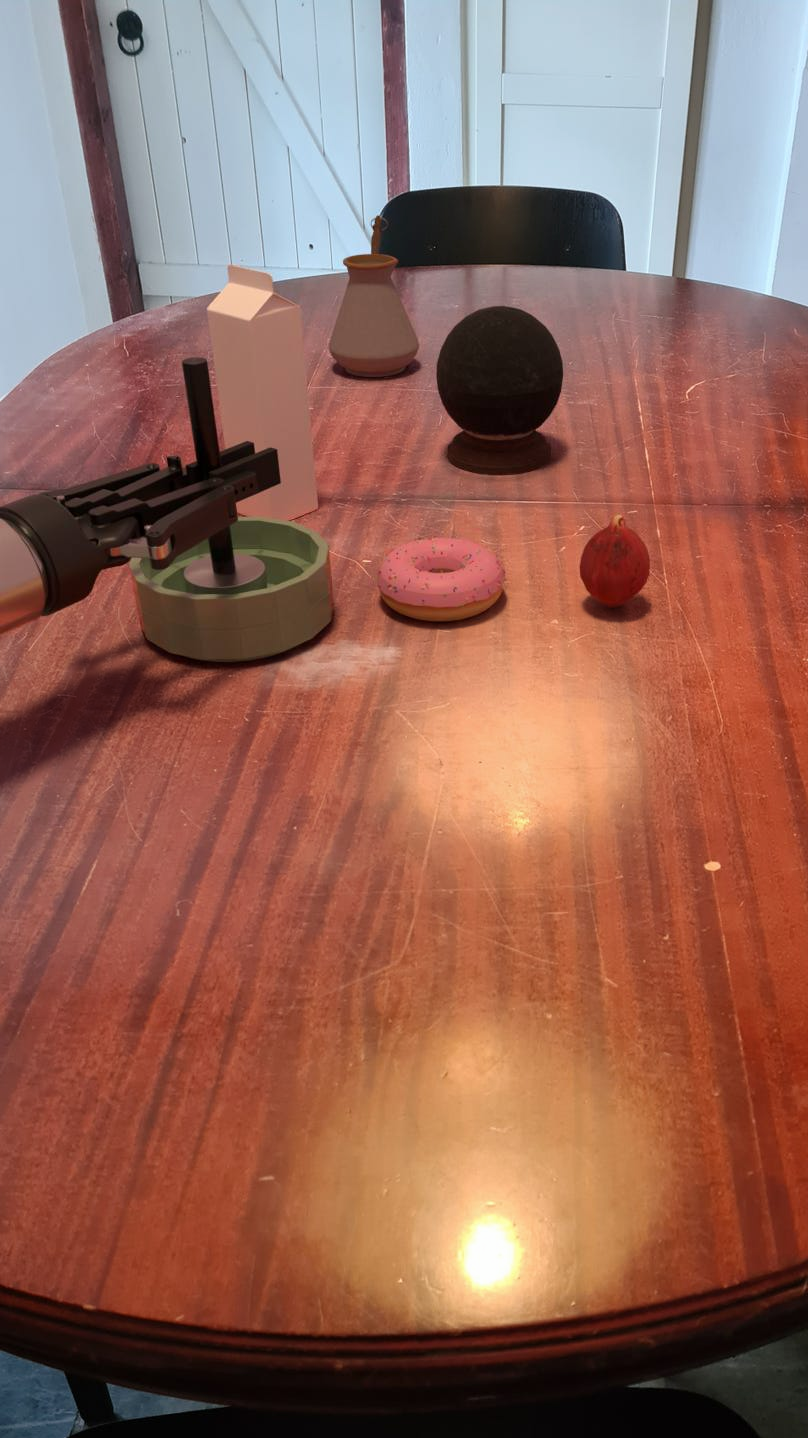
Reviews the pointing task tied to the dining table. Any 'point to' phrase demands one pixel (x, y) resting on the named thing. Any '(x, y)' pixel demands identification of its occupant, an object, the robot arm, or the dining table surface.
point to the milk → (264, 387)
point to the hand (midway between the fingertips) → (263, 462)
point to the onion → (615, 564)
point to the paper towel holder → (223, 565)
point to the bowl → (240, 597)
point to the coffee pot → (372, 317)
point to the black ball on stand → (499, 390)
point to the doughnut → (440, 579)
